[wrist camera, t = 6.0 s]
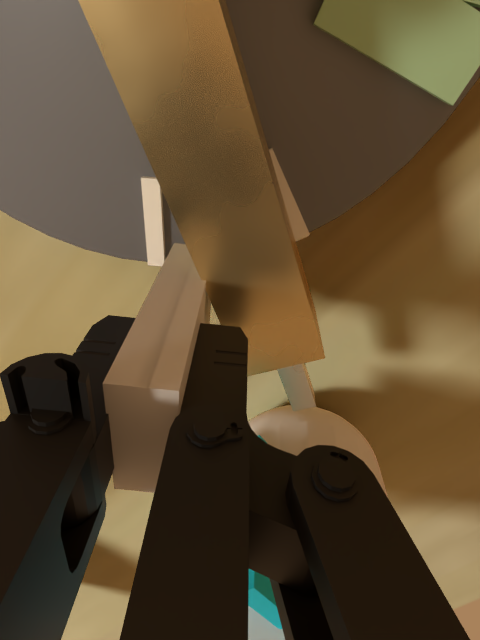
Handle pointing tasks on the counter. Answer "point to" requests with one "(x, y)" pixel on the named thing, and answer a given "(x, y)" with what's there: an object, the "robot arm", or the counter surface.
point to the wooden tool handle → (215, 172)
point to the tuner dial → (270, 98)
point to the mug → (293, 437)
